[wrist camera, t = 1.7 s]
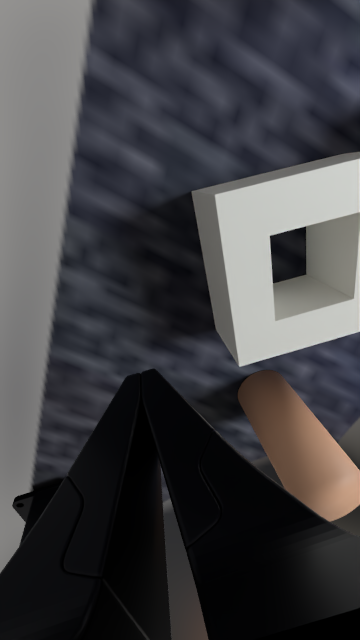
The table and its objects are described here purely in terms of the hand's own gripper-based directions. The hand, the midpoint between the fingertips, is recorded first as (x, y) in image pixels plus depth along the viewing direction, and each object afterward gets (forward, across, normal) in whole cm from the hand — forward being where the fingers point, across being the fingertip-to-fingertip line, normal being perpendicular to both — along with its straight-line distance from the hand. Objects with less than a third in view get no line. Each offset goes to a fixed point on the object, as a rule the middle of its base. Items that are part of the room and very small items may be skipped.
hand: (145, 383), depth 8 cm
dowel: (+8, -7, +10) cm, 15 cm away
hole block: (+8, -8, 0) cm, 12 cm away
